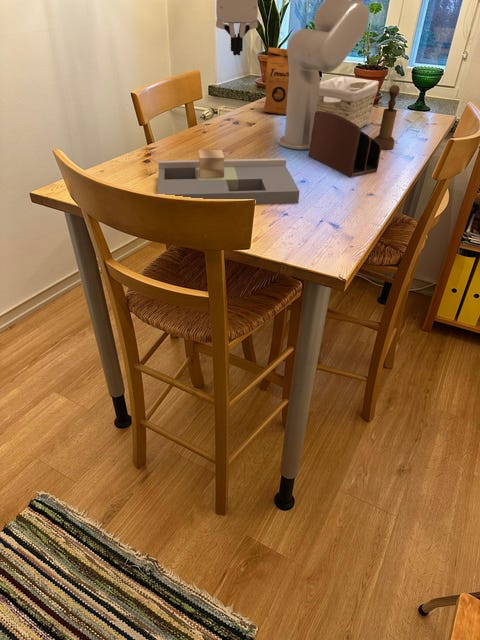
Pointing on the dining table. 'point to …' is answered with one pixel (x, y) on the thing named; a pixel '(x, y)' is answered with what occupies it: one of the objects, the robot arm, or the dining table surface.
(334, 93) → the storage basket
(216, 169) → the beech block
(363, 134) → the letter holder
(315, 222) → the dining table surface
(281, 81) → the coffee package
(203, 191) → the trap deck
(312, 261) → the dining table surface
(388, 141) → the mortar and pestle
